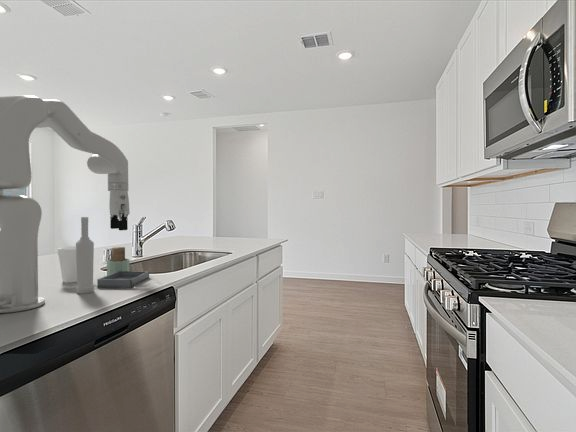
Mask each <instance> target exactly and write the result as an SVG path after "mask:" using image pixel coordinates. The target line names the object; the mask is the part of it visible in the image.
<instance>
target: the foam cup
mask: <svg viewBox="0 0 576 432" xmlns="http://www.w3.org/2000/svg"><path fill="white" fill-rule="evenodd" d="M57 255H58V260H59V266H60V272H61V277H62V282H63V283H77V268H76V245H71V246H61V247H57Z"/></svg>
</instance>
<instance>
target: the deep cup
mask: <svg viewBox="0 0 576 432" xmlns="http://www.w3.org/2000/svg"><path fill="white" fill-rule="evenodd" d="M130 262H131V261H130V259H129V258H126V257H125V261H111V258H110V259H107V260H106V276H107V275H110V274H113V273H115V272H118V271H131V270H130V269H131V268H130V266H131V265H130Z"/></svg>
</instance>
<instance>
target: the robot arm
mask: <svg viewBox="0 0 576 432" xmlns="http://www.w3.org/2000/svg"><path fill="white" fill-rule="evenodd" d="M37 128H50V129H51V130H53V131H54V132H55V134H57V135H58V136H59V137H60V138H61V139H62V140H63V141H64V142H65V143H66V144H67V146H69V147H70V148H73V149H75V150H77V151H81V152H85V153H89V154H91V156H89V158H88V159H87V161H86V164H87V167H88V169H89V171H90V172H92V173H94V174H98V175H107V191H108V192H109V206H108V207H109V213H110V214H109V215H110V216H109V217H110V224H109V225H110V226H109V227H110V229H111V230H113V229H115V230H117V229H118V230H119V231H127V230H128V216H129V215H130V200H129V199H130V198H129V160H128V159H127V156H125V154H124V152H123V151H122V150H121V149H120V148H119V147H118V146H117V145H116V144H114V143H113V142H112V141H110V140H108V139H107V138H105V137H103V136H101V135H99V134H98V133H95V132H93V131H91V129H89V128H88V127H87V126H86V124H84V122H83V121H82V120H81V118H79V117H78V116H77V114H76V113H75V112H74V111H73V110H72V109H71V108H70V107H69V106H68V105H67V104H66V103H65V102H63V101H62V100H59V99H58V100H57V99H42V98H41V97H38V96H35V95H23V94H22V95H12V96H11V95H9V96H0V314H5V313H15V312H17V313H18V312H23V311H28V310H32V309H36V308H39V307H41V306H43V305H44V304H45V300H46V299H45V298H44V297H41V296H39V258H38V256H39V254H38V253H39V251H38V247H39V246H38V245H39V244H38V241H39V240H38V237H39V230H40V229H39V228H40V224H41V221H42V214H43V213H42V208H41V205H40V203H39V202H38V201H37V200H35V199H34V198H32V197H30V196H26V195H21V194H4V191H19V190H21V191H22V190H24V189H27V188H28V187H29V186H30V184H31V181H32V168H31V165H32V164H31V156H30V145H29V144H30V142H29V141H30V138H31V137H30V136H32V133H33V131H34V130H35V129H37Z"/></svg>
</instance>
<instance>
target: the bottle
mask: <svg viewBox="0 0 576 432" xmlns="http://www.w3.org/2000/svg"><path fill="white" fill-rule="evenodd" d="M80 221H81V228H80V229H81V230H80V231H81V234H80V235H81V236H80V238H79V239H78V240H77V241H76V242H75V246H76V268H77V282H76V287H75V292H76V294H78V295H79V294H81V295H85V294H91V293H92V292H94V290H95V285H94V256H95V253H94V251H95V247H94V246H95V242H94V241H93V240H91V239H90V237H89V216H81V218H80Z"/></svg>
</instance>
